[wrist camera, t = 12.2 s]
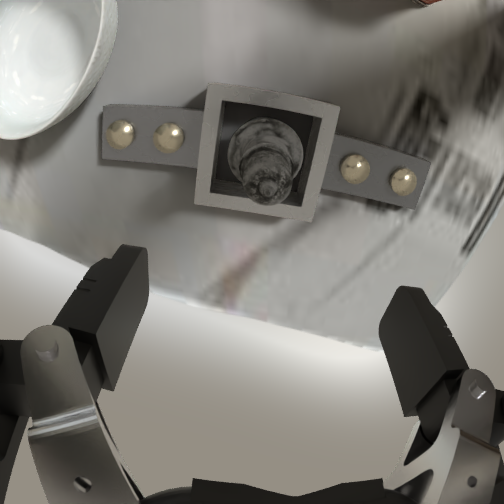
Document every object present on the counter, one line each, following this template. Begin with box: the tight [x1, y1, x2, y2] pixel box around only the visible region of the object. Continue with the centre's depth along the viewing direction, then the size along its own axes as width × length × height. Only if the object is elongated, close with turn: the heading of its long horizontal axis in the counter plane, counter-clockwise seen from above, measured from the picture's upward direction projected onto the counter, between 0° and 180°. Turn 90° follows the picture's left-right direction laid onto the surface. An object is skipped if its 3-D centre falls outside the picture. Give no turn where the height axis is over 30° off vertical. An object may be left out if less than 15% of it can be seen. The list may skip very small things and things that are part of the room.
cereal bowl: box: [0, 0, 118, 140], centre depth 17 cm, size 17×17×7 cm
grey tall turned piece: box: [227, 117, 303, 206], centre depth 21 cm, size 6×6×12 cm
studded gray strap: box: [102, 83, 431, 222], centre depth 25 cm, size 30×10×4 cm, turn 81°
